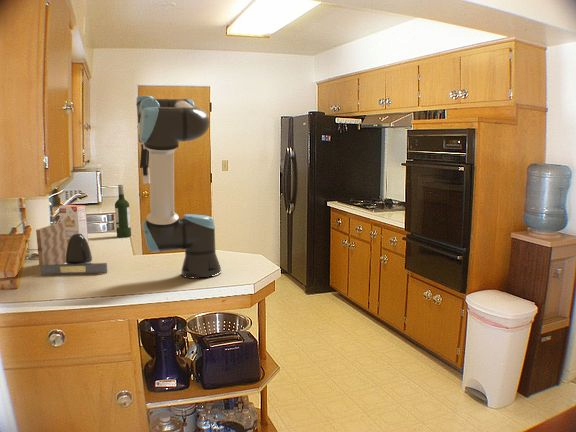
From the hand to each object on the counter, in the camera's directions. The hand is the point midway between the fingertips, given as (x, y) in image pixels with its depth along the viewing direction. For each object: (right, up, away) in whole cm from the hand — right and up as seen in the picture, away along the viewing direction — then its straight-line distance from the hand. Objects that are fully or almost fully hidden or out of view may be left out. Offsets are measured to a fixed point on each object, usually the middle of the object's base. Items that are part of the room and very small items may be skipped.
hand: (150, 182), depth 220 cm
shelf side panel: (-40, -37, -4) cm, 54 cm away
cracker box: (-54, -30, +51) cm, 80 cm away
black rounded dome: (-27, -37, -9) cm, 47 cm away
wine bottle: (-34, -27, +71) cm, 83 cm away
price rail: (-26, -38, -17) cm, 49 cm away
